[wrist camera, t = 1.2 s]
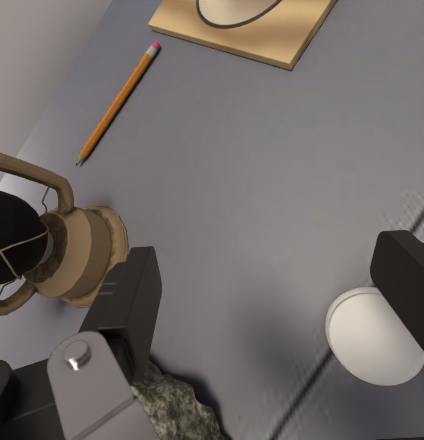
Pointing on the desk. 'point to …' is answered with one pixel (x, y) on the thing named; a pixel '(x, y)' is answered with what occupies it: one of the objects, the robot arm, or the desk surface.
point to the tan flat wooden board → (245, 26)
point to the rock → (175, 408)
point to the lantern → (55, 242)
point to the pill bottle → (372, 338)
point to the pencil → (118, 101)
